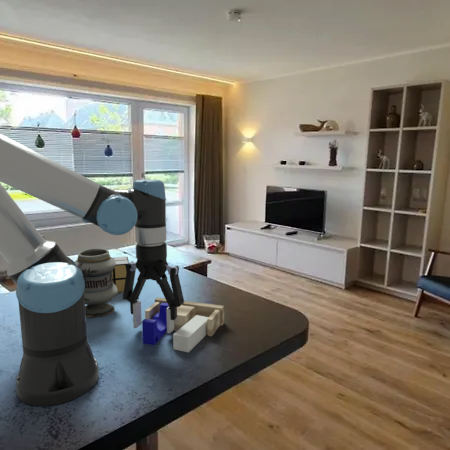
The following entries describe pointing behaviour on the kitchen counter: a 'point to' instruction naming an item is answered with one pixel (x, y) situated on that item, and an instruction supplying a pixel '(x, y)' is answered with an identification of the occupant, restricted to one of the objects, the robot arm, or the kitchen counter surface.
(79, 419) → the kitchen counter surface
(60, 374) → the robot arm
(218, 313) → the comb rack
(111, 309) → the apothecary jar
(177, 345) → the white rectangular bar
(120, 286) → the puzzle cube
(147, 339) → the blue stepped long piece
